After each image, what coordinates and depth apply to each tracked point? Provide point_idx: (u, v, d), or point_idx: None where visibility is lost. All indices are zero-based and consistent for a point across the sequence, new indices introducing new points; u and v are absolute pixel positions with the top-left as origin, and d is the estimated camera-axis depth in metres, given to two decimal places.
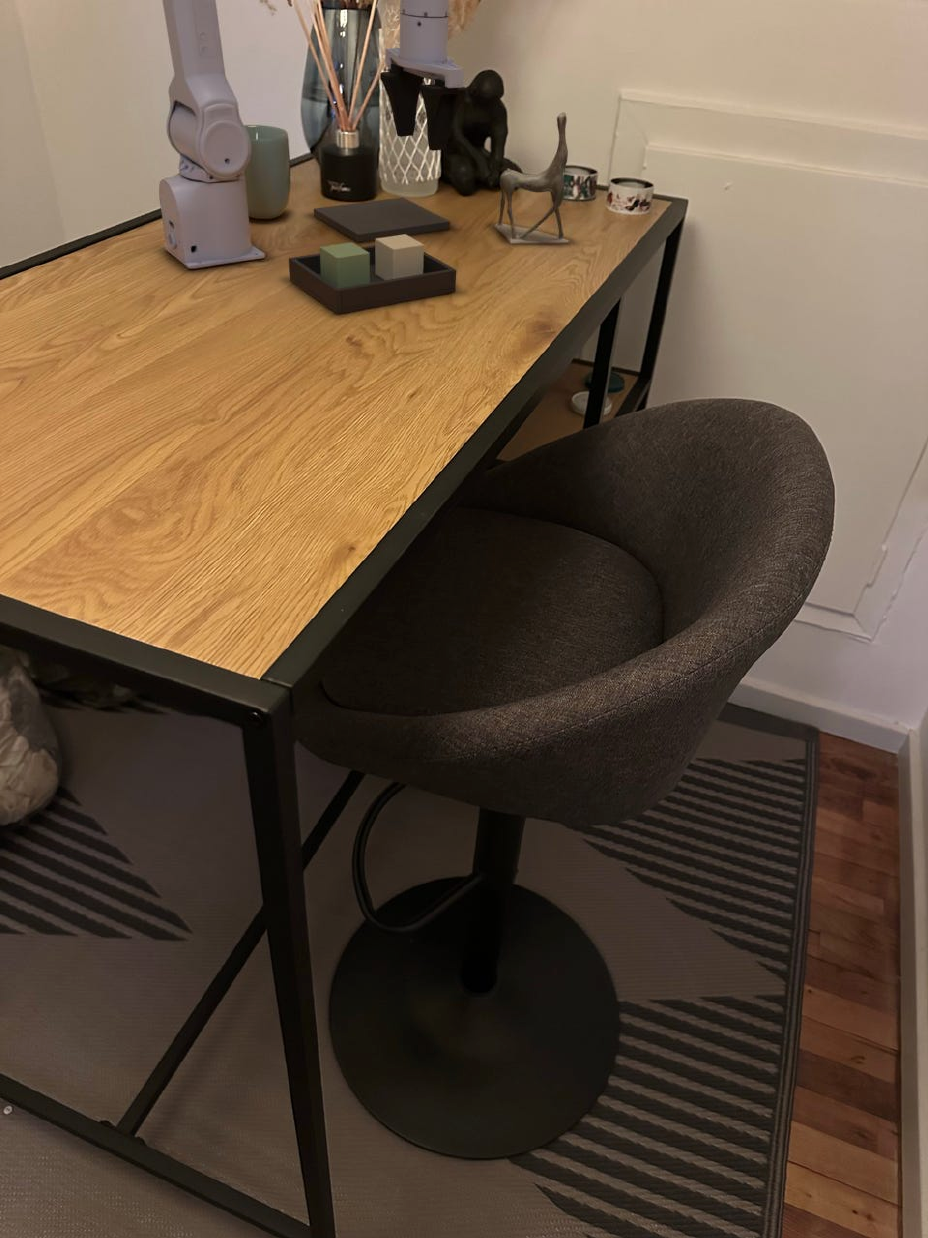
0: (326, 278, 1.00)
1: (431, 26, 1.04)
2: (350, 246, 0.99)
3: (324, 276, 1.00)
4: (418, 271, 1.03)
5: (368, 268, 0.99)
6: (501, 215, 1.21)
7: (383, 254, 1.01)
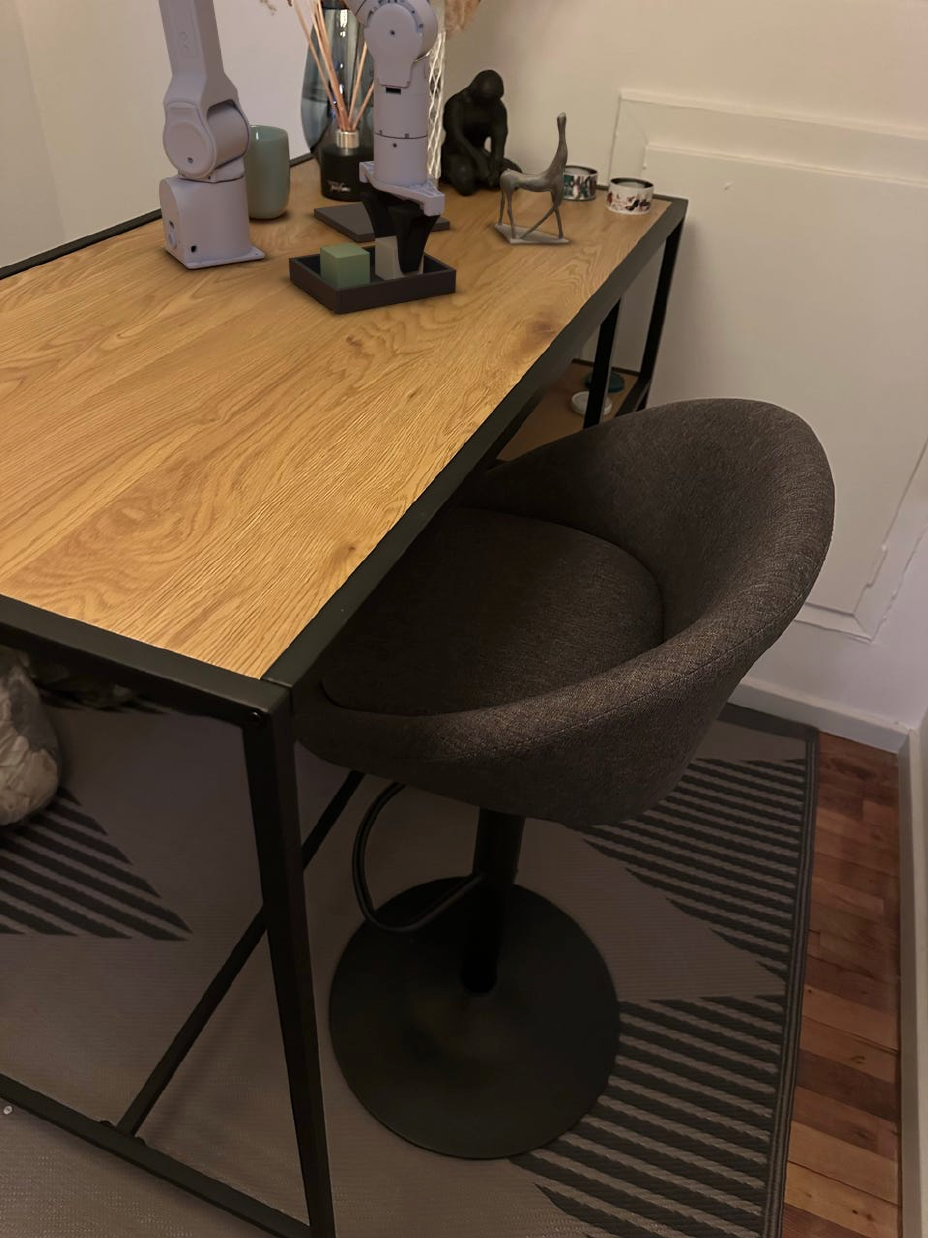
0: (326, 278, 1.00)
1: (408, 147, 0.93)
2: (350, 246, 0.99)
3: (324, 276, 1.00)
4: (418, 271, 1.03)
5: (368, 268, 0.99)
6: (501, 215, 1.21)
7: (383, 254, 1.01)
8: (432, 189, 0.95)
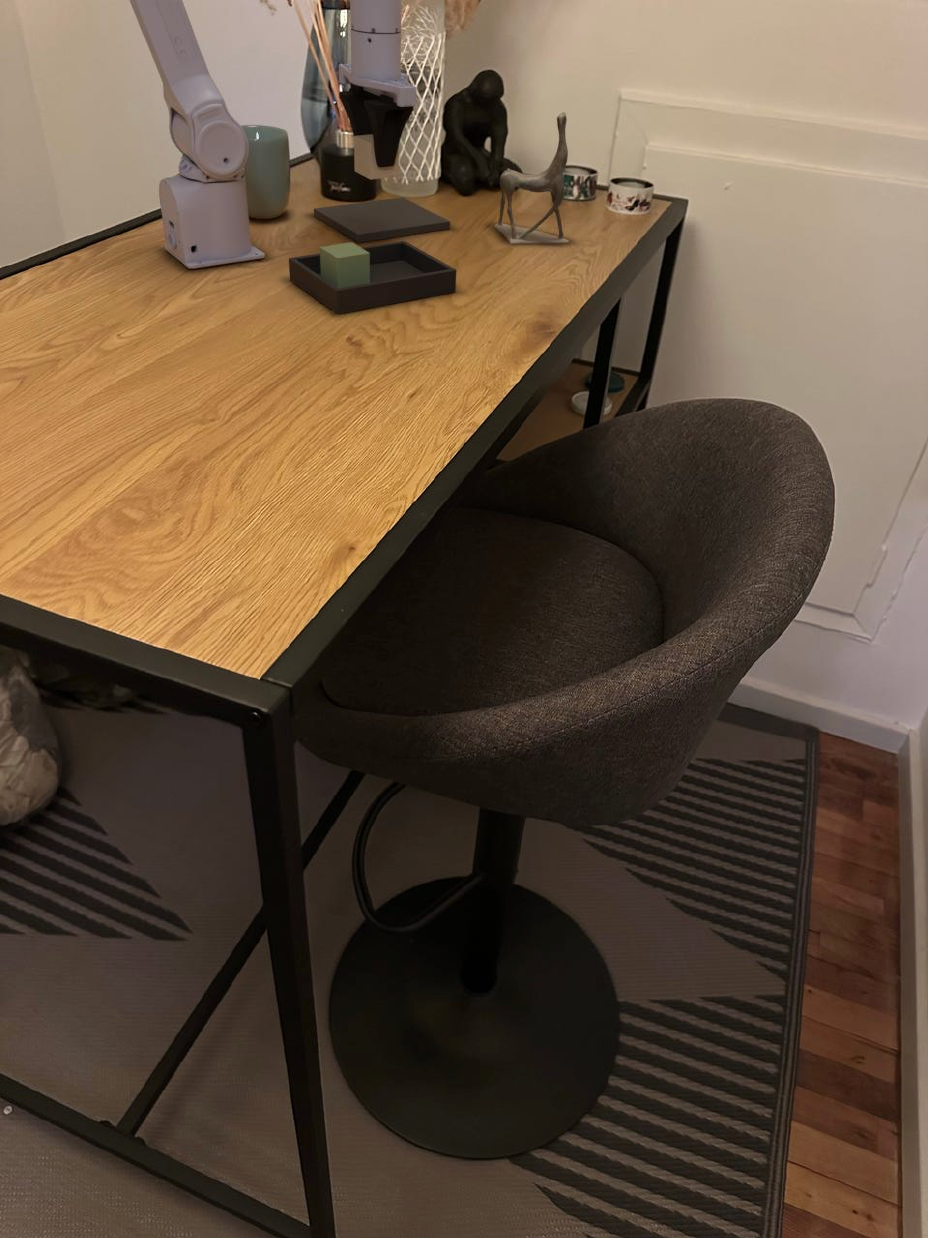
0: (326, 278, 1.00)
1: (382, 42, 1.00)
2: (350, 246, 0.99)
3: (324, 276, 1.00)
4: (394, 167, 1.10)
5: (368, 268, 0.99)
6: (501, 215, 1.21)
7: (361, 150, 1.09)
8: (404, 83, 1.02)
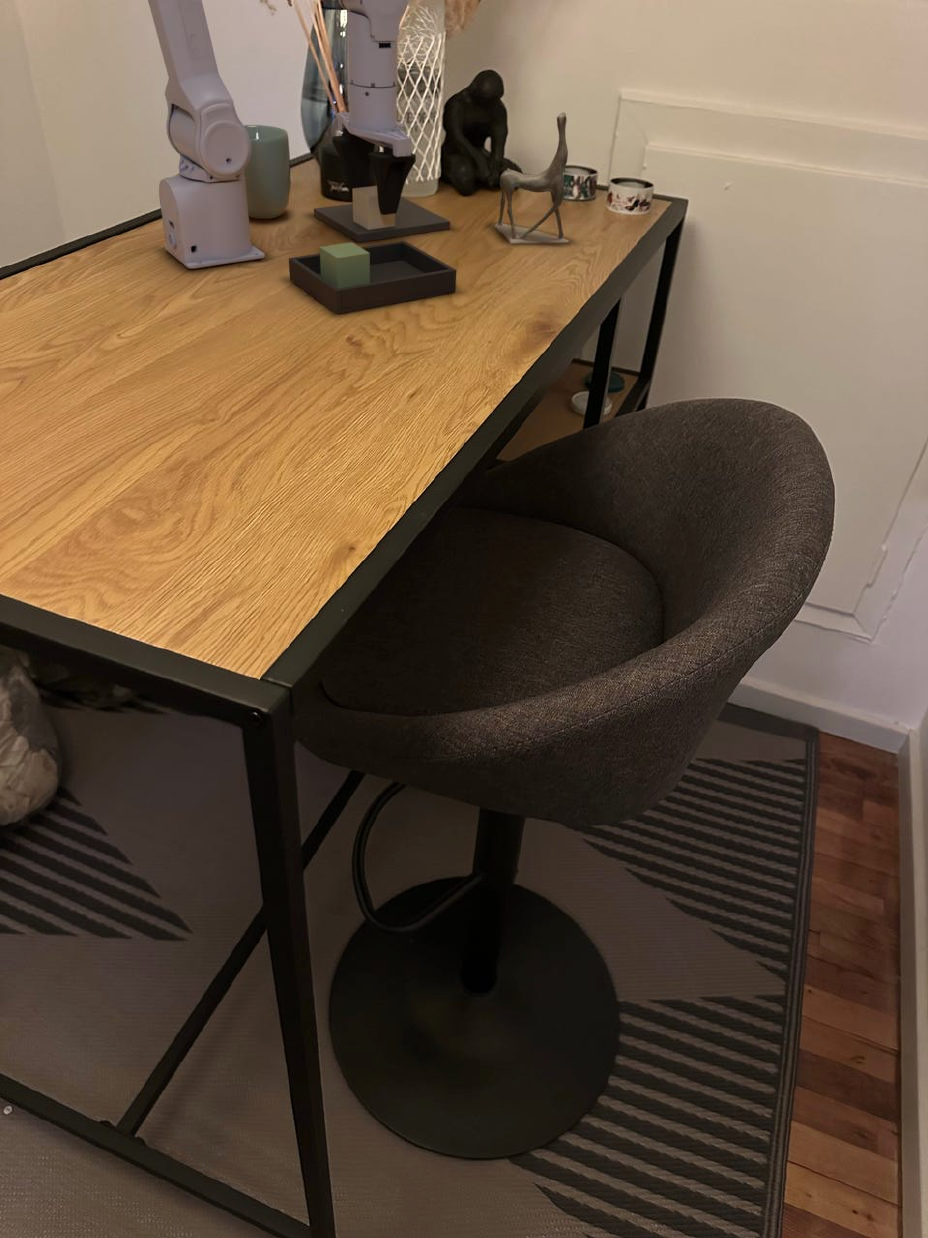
0: (326, 278, 1.00)
1: (379, 96, 1.06)
2: (350, 246, 0.99)
3: (324, 276, 1.00)
4: (390, 218, 1.16)
5: (368, 268, 0.99)
6: (501, 215, 1.21)
7: (359, 202, 1.15)
8: (400, 134, 1.07)
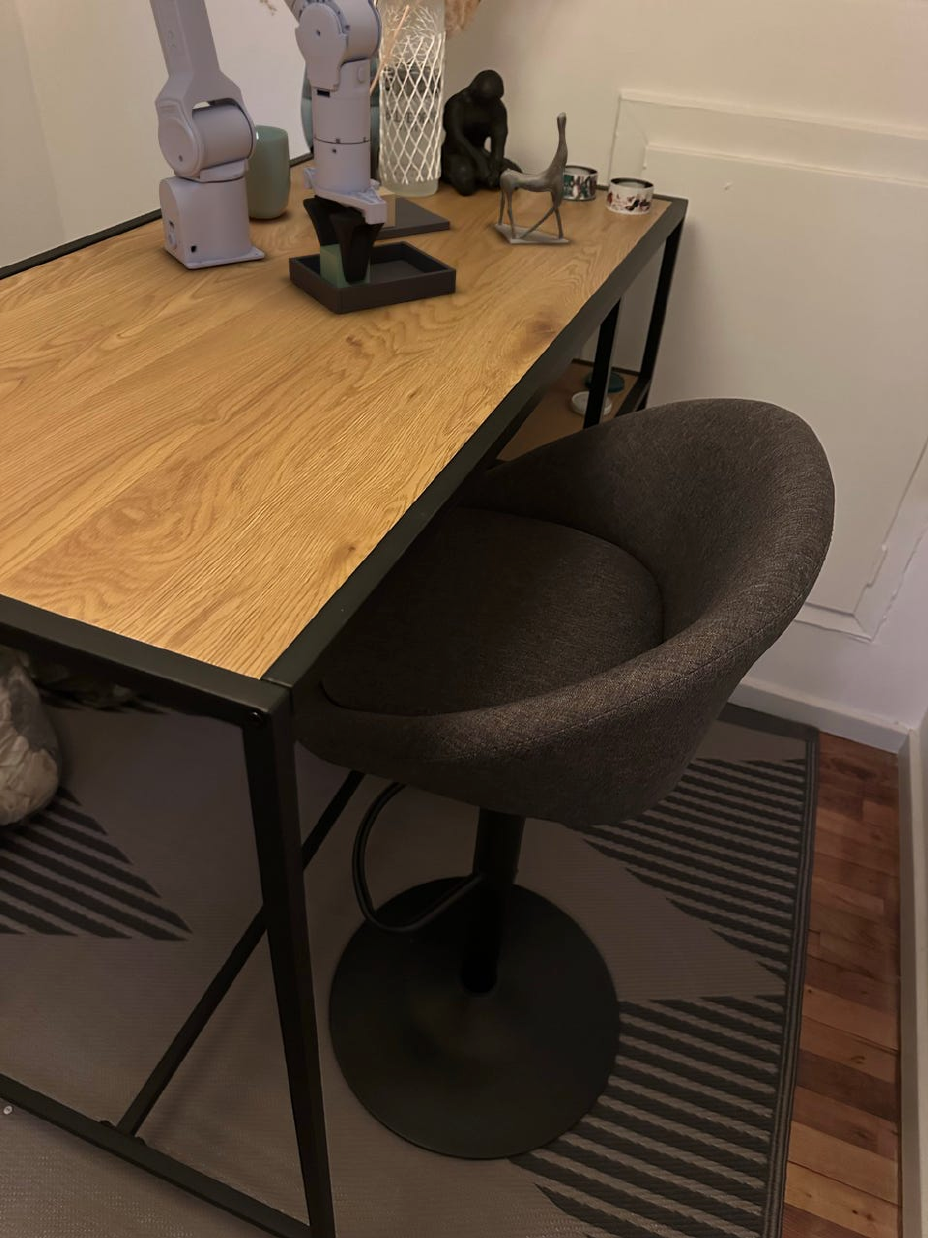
0: (326, 278, 1.00)
1: (348, 153, 0.90)
2: None
3: (324, 276, 1.00)
4: (390, 218, 1.16)
5: (368, 268, 0.99)
6: (501, 215, 1.21)
7: None
8: (374, 196, 0.92)
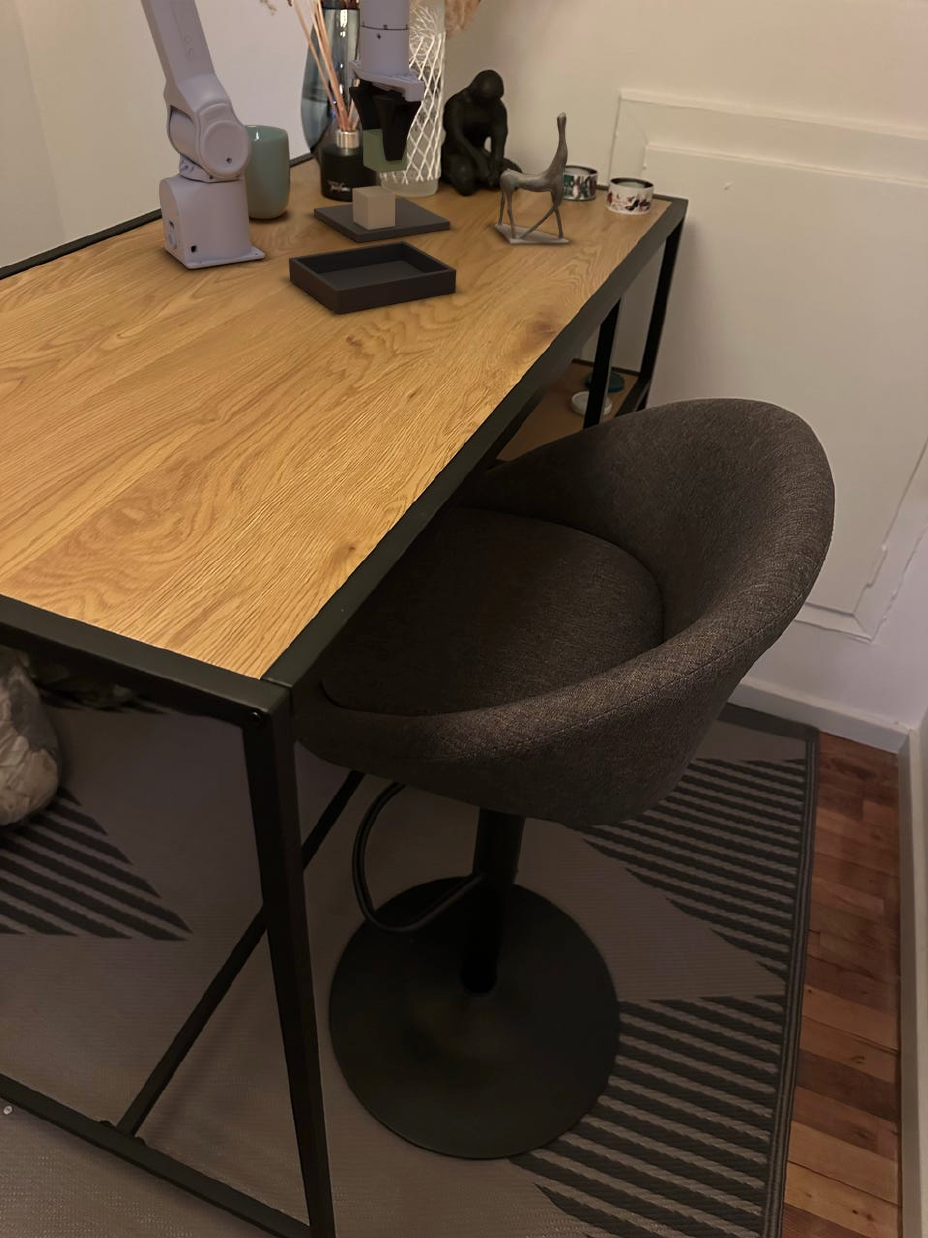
0: (368, 159, 1.13)
1: (391, 38, 1.03)
2: None
3: (366, 157, 1.13)
4: (390, 218, 1.16)
5: (405, 149, 1.12)
6: (501, 215, 1.21)
7: (359, 202, 1.15)
8: (413, 78, 1.05)
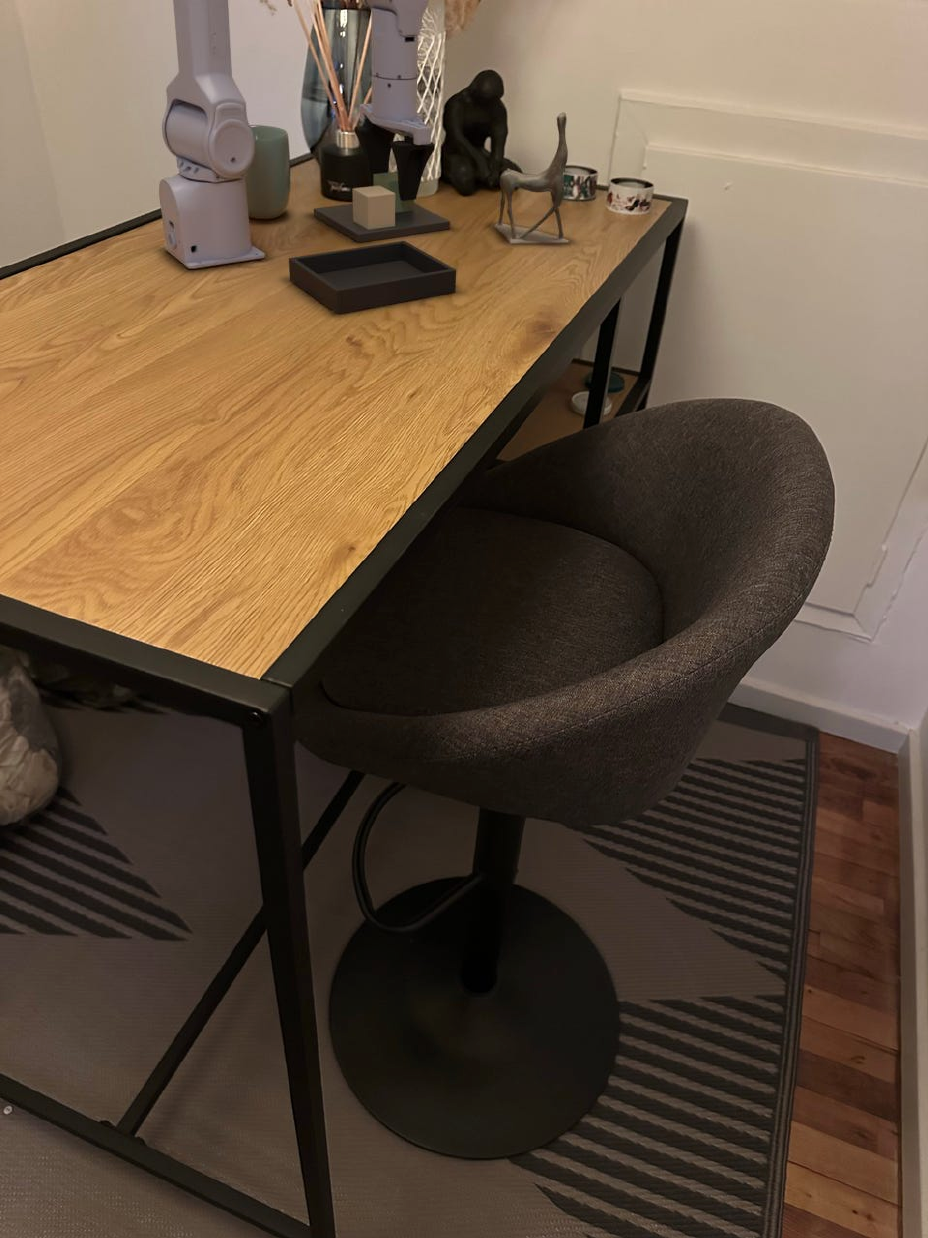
0: None
1: (400, 87, 1.12)
2: None
3: None
4: (390, 218, 1.16)
5: None
6: (501, 215, 1.21)
7: (359, 202, 1.15)
8: (420, 123, 1.14)
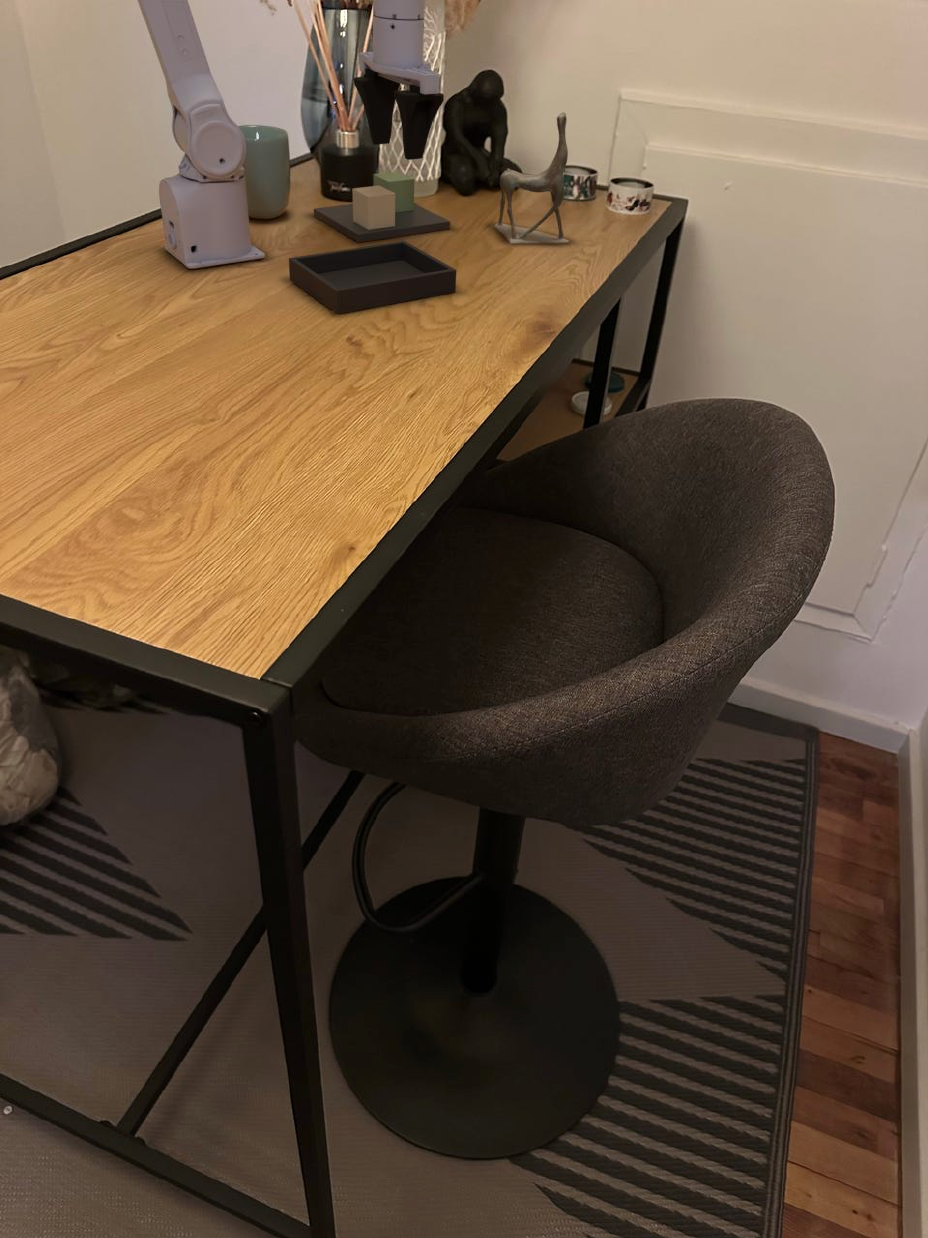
0: None
1: (405, 29, 0.99)
2: (398, 174, 1.21)
3: None
4: (390, 218, 1.16)
5: (413, 191, 1.21)
6: (501, 215, 1.21)
7: (359, 202, 1.15)
8: (428, 70, 1.01)
